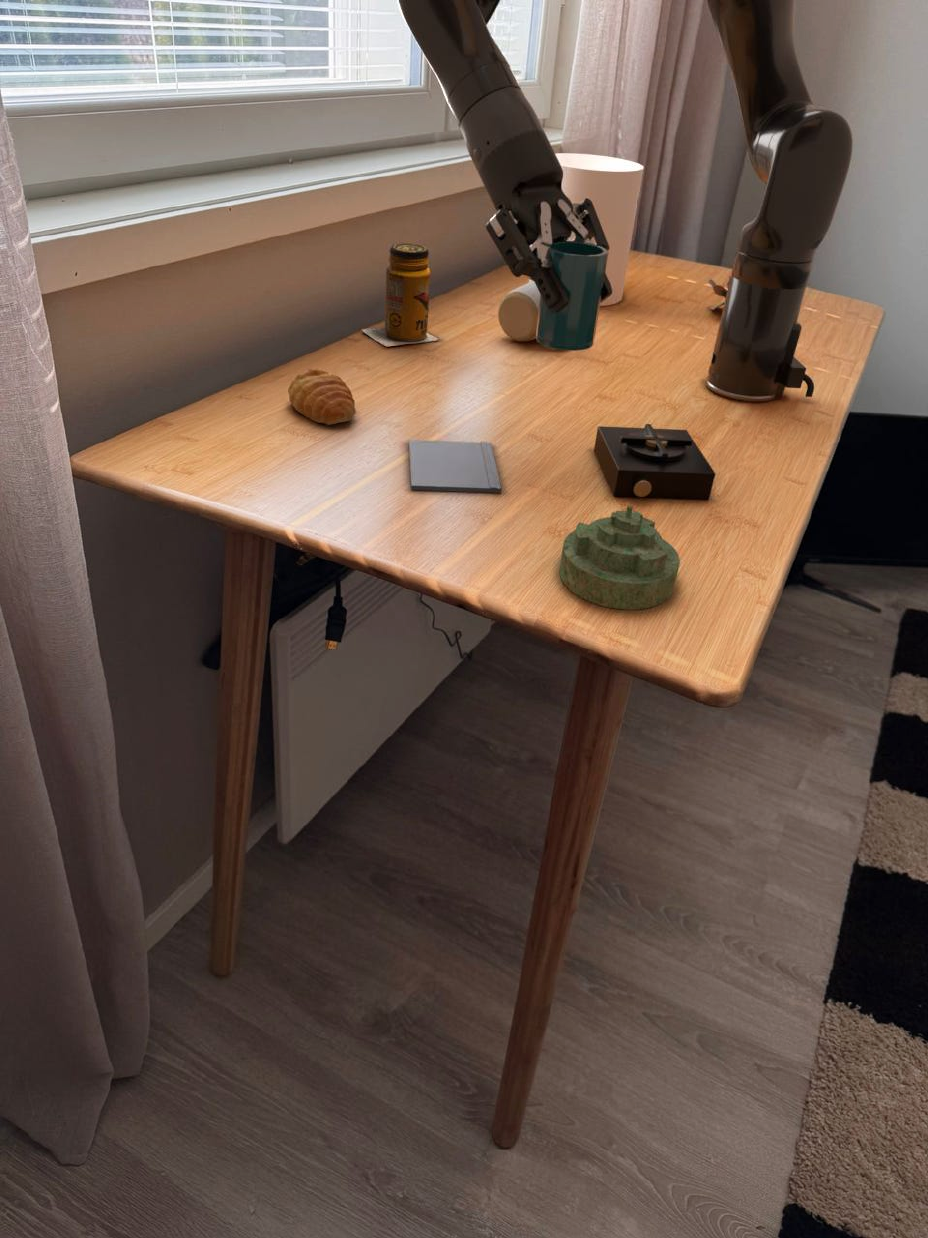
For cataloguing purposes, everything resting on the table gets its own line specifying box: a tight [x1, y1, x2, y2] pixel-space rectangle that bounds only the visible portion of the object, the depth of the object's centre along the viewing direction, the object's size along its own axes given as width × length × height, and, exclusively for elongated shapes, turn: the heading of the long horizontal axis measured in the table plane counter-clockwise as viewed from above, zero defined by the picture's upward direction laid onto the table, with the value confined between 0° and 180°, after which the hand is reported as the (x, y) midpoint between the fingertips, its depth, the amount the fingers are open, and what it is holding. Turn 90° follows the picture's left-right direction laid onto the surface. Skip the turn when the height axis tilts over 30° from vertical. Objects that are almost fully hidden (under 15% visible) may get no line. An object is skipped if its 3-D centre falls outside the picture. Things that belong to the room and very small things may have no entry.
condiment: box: [361, 242, 439, 347], centre depth 127 cm, size 7×8×12 cm
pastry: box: [287, 368, 357, 426], centre depth 105 cm, size 9×7×4 cm
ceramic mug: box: [497, 281, 541, 342], centre depth 132 cm, size 11×8×8 cm
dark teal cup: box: [535, 241, 608, 352], centre depth 93 cm, size 6×6×9 cm
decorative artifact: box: [558, 504, 681, 611], centre depth 79 cm, size 10×7×10 cm
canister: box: [528, 152, 645, 307], centre depth 151 cm, size 16×16×20 cm
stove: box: [593, 423, 716, 501], centre depth 97 cm, size 10×12×4 cm
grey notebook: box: [408, 439, 502, 494], centre depth 97 cm, size 9×11×1 cm
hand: (583, 302), depth 93 cm, fingers closed on dark teal cup, 6 cm apart
